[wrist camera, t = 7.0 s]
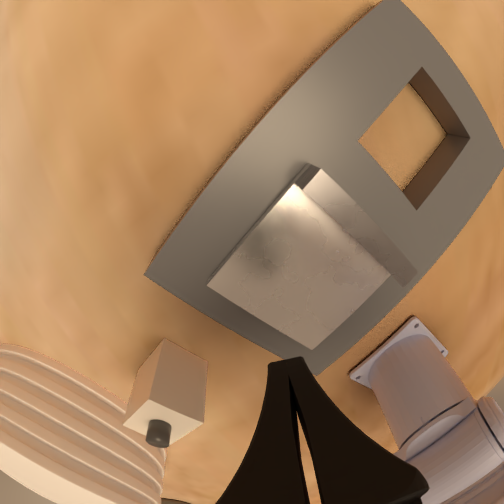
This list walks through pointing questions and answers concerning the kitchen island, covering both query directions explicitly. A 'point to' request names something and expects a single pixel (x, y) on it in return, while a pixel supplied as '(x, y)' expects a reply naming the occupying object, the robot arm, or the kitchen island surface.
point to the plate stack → (71, 435)
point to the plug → (167, 395)
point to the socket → (342, 172)
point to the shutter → (310, 260)
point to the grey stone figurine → (171, 501)
